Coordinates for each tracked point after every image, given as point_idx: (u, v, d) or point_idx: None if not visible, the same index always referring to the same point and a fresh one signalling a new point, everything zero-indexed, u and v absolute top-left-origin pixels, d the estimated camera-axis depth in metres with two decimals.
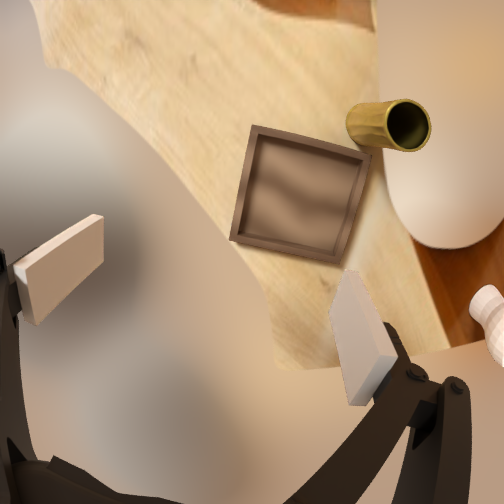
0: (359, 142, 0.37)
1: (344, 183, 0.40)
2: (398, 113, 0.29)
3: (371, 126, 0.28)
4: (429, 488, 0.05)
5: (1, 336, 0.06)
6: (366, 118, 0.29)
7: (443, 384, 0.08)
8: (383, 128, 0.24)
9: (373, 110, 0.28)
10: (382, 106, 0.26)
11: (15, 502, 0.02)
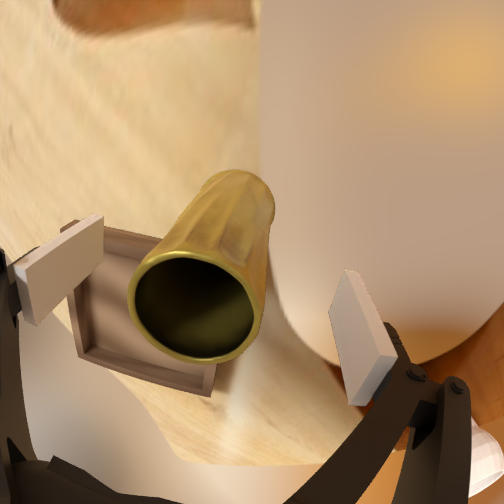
0: None
1: None
2: None
3: None
4: (429, 488, 0.05)
5: (1, 336, 0.06)
6: None
7: (443, 384, 0.08)
8: (133, 319, 0.11)
9: None
10: None
11: (15, 502, 0.02)
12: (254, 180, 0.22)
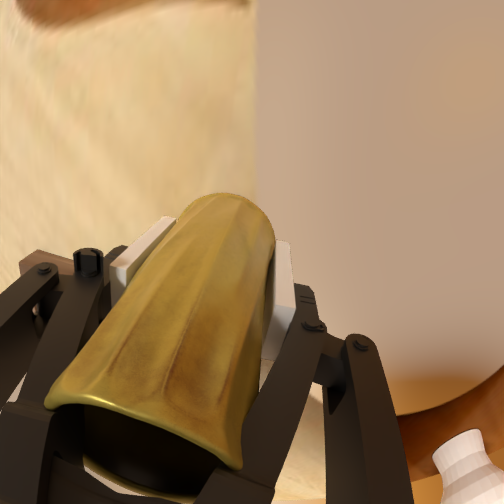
0: None
1: None
2: None
3: None
4: (357, 455, 0.06)
5: (79, 344, 0.07)
6: None
7: (344, 343, 0.10)
8: None
9: None
10: None
11: (15, 502, 0.02)
12: (247, 208, 0.16)
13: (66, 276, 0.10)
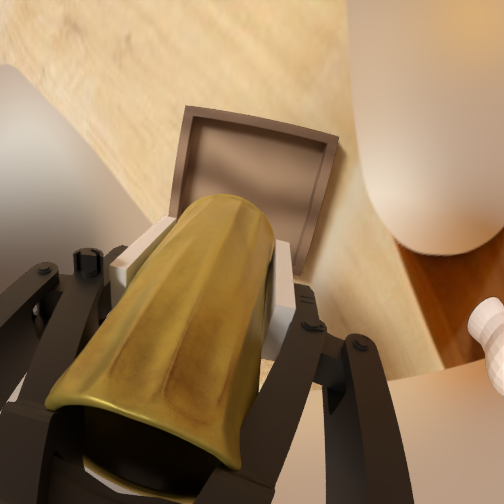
0: None
1: (305, 174, 0.32)
2: None
3: None
4: (357, 454, 0.06)
5: (79, 344, 0.07)
6: None
7: (344, 343, 0.10)
8: None
9: None
10: None
11: (15, 502, 0.02)
12: (247, 209, 0.16)
13: (66, 276, 0.10)
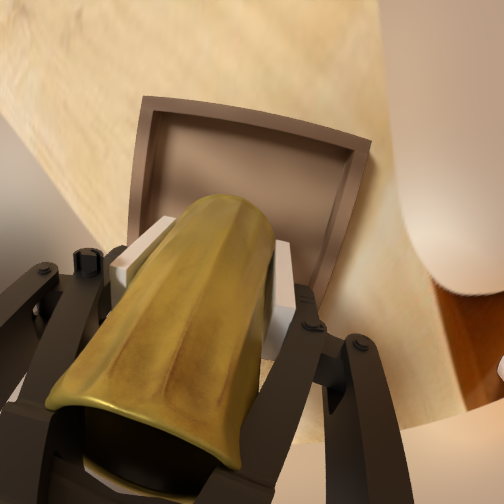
0: None
1: (319, 194, 0.22)
2: None
3: None
4: (358, 454, 0.06)
5: (79, 344, 0.07)
6: None
7: (344, 343, 0.10)
8: None
9: None
10: None
11: (15, 502, 0.02)
12: (247, 209, 0.16)
13: (66, 276, 0.10)
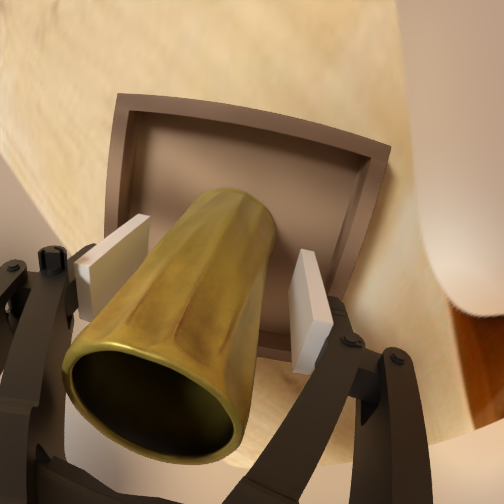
0: None
1: (327, 209, 0.19)
2: None
3: None
4: (385, 465, 0.06)
5: (50, 338, 0.07)
6: None
7: (382, 356, 0.09)
8: (78, 406, 0.07)
9: None
10: None
11: (15, 502, 0.02)
12: (249, 202, 0.18)
13: (35, 273, 0.10)
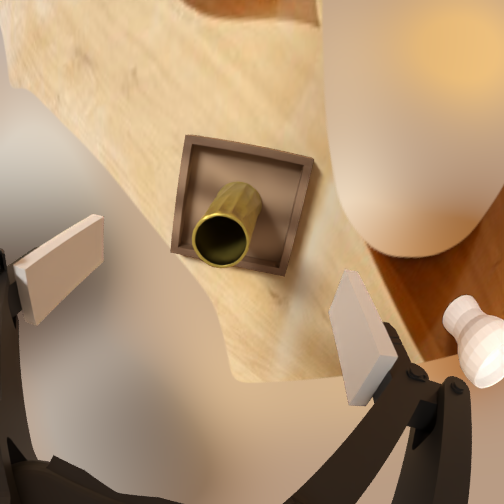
0: None
1: (286, 191, 0.39)
2: None
3: None
4: (429, 488, 0.05)
5: (1, 336, 0.06)
6: None
7: (443, 384, 0.08)
8: (193, 247, 0.27)
9: (205, 214, 0.31)
10: None
11: (15, 502, 0.02)
12: (249, 187, 0.38)
13: None
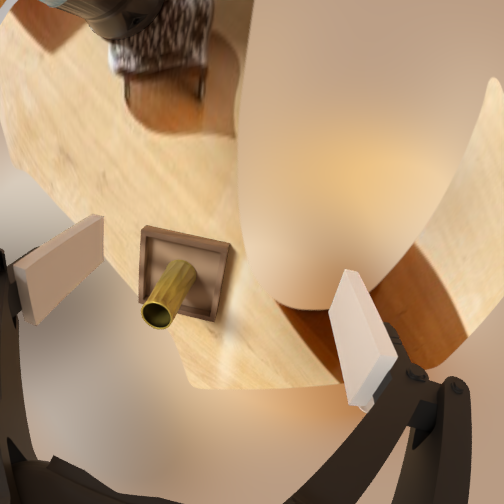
0: None
1: (212, 266, 0.56)
2: None
3: (150, 304, 0.48)
4: (429, 488, 0.05)
5: (1, 336, 0.06)
6: None
7: (443, 384, 0.08)
8: (142, 317, 0.45)
9: (151, 293, 0.48)
10: None
11: (15, 502, 0.02)
12: (186, 265, 0.55)
13: None
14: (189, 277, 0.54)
